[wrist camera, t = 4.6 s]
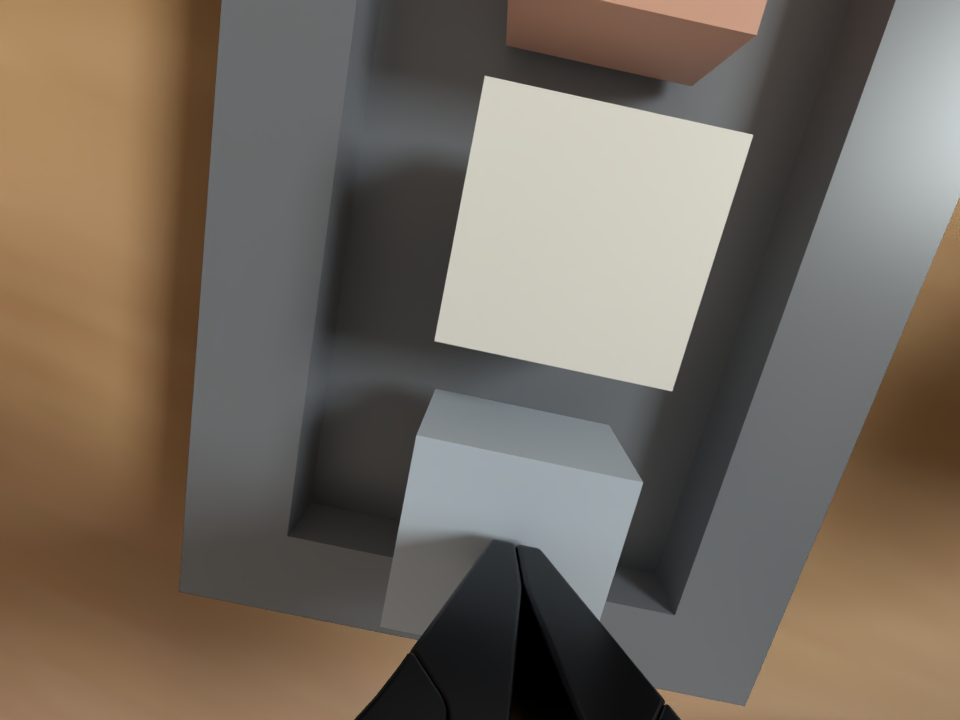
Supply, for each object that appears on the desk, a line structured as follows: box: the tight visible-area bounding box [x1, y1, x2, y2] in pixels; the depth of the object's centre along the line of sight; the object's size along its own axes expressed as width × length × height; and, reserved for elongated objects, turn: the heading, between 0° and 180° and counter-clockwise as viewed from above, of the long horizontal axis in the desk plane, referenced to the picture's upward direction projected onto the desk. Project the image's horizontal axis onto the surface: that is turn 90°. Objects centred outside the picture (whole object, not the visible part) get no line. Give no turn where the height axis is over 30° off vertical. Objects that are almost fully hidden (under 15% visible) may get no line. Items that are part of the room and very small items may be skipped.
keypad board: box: [179, 0, 960, 706], centre depth 10 cm, size 25×14×2 cm, turn 168°
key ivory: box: [434, 76, 753, 391], centre depth 9 cm, size 4×4×3 cm
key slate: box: [380, 389, 643, 635], centre depth 10 cm, size 4×4×3 cm
